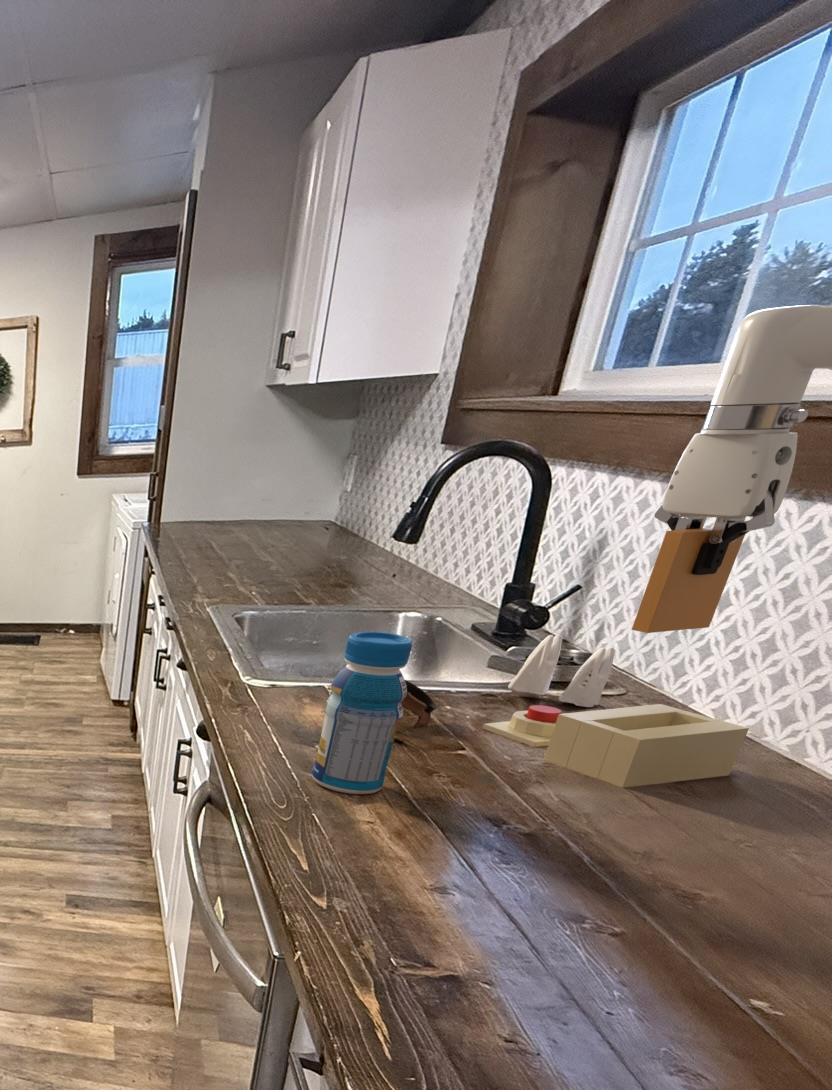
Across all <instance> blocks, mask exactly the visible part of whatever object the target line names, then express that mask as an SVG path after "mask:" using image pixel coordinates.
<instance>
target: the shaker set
mask: <svg viewBox="0 0 832 1090" xmlns="http://www.w3.org/2000/svg"><path fill="white" fill-rule="evenodd" d="M562 645H563V635H561V634H559V633H557V634H555V636H554V634H549V635H547V636H546V637H545V638H544V639H542V641H541V642H540V643H539V644H537V646H536V647H535V648H534V649H533V650H532V652H531V653H530V654H529V656H528V657H527V658H526V659H525V662H524V664H523V666H522V667H521V668H520V670H518V672H517V674H516V675H515V676H514V678H513V679H512V680H511V681H510V682H509V683H508V684H507V685H508V686H507V689H509V690H510V692H511V693H512V694H514V695H516V696H519V697H524V698H539V697H540V696H541V695H543V694H545V693H548V691H549V690H550V685H551V683H552V680H553V675H554V672H555V670H556V667H557V665H558V662H559V658H560V655H561V649H562ZM615 650H616V649H615V648H614V647H611V646H609V647H607V648H606V647H600V648H598V649H597V650H596V651H595V652H594V653H592V654H591V655H590V656H589V657H588V658H587V659H586V661H585V662H584V663H583V664H582V665H580V667H579V668H578V669H577V671H576V673H575V674H574V676H573V678H572V679H571V682H570V683H569V684H568V686H567V687H565V689H564V690H563V691H562V692H561V694H560V695H559V696H558V697H557V699H556V700H557V701H559V702H562V703H569V704H574V705H575V706H578V707H585V708H592V707H594V706H599V704H600V702H601V701H600V700H601V698H602V695H603V692H604V689H605V686H606V683H607V682H608V680H609V678H610V675H611V671H612V668H613V663H614V658H615Z"/></svg>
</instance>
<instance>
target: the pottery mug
mask: <svg viewBox="0 0 832 1090" xmlns="http://www.w3.org/2000/svg"><path fill="white" fill-rule="evenodd" d="M405 682H406V686H407V696H406V697H405V699H403V700H402V702H401V705H402V707H403V709H406V710H408V711H410V712H411V713H412V714H414V715H415V716H417V717H418V718H417V721H416V722H415V724H414V725H413V726H412V728H415V727H425V726H428V725H429V723H430V721H431V717H432V712H433V711H435V710H437V707H438V706H437V704H436V703H435V701H434V700H433V698H432V697H431V696H429V694H427V692H425V691H424V690H423V689H421V688H420V687H418V686H417V685H416V684H414V683H413V682H411V681H408V680H407V679H405Z"/></svg>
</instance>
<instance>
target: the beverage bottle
mask: <svg viewBox="0 0 832 1090" xmlns="http://www.w3.org/2000/svg"><path fill="white" fill-rule="evenodd" d="M412 647H413V640H412V639H411V638H409V637H407V636H404V635H401V634H396V633H390V632H381V631H359V632H353V633H351V634H350V635H349V637H348V638H347V642H346V646H345V649H344V650H345V651H344V655H343V656H344V661H345V662H346V663H347V665H345V666H343V668H342V669H341V670H340V671H339V672H338V673H337V674H336V675H335V677H334V678H333V680H332V682H331V684H330V691H331V695H330V696H329V697H328V698H327V700H326V702H325V705H324V713H325V715H324V719H323V725H322V730H321V734H320V739H319V744H318V748H317V751H316V752H317V753H316V757H315V761H314V763H313V767H312V770H311V779H312V781H314V782H315V783H316V784H317V785H319V786H321V787H323V788H325V789H328V790H331V791H334V792H338V793H344V794H351V795H370V794H374V793H377V792H379V791H381V790H382V788H383V786H384V783H385V779H386V771H387V767H388V764H389V760H390V756H391V753H392V749H393V745H394V741H395V737H396V735H397V731H398V727H399V724H400V723H401V721H402V719H403V715H404V707H403V706H402V705H401V702H402V700H403V699H405V697H406V696H407V686H406V682H405V680H406V679H405V677H404V675H403V673H402V670H400V669H404V668H405V667H406V666H407V664H408V663H409V659H410V655H411V651H412Z"/></svg>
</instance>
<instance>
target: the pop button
mask: <svg viewBox="0 0 832 1090" xmlns="http://www.w3.org/2000/svg"><path fill="white" fill-rule="evenodd" d="M527 711H528V712H527V715H526V718H528V719H531V720H534V721H540V722H548V723H556V722H557V719H558V716H559V714H562V712H563V711H562V709H559V708H557V707H554V706H549V705H539V704H534V705H529V706H528V709H527Z"/></svg>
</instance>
